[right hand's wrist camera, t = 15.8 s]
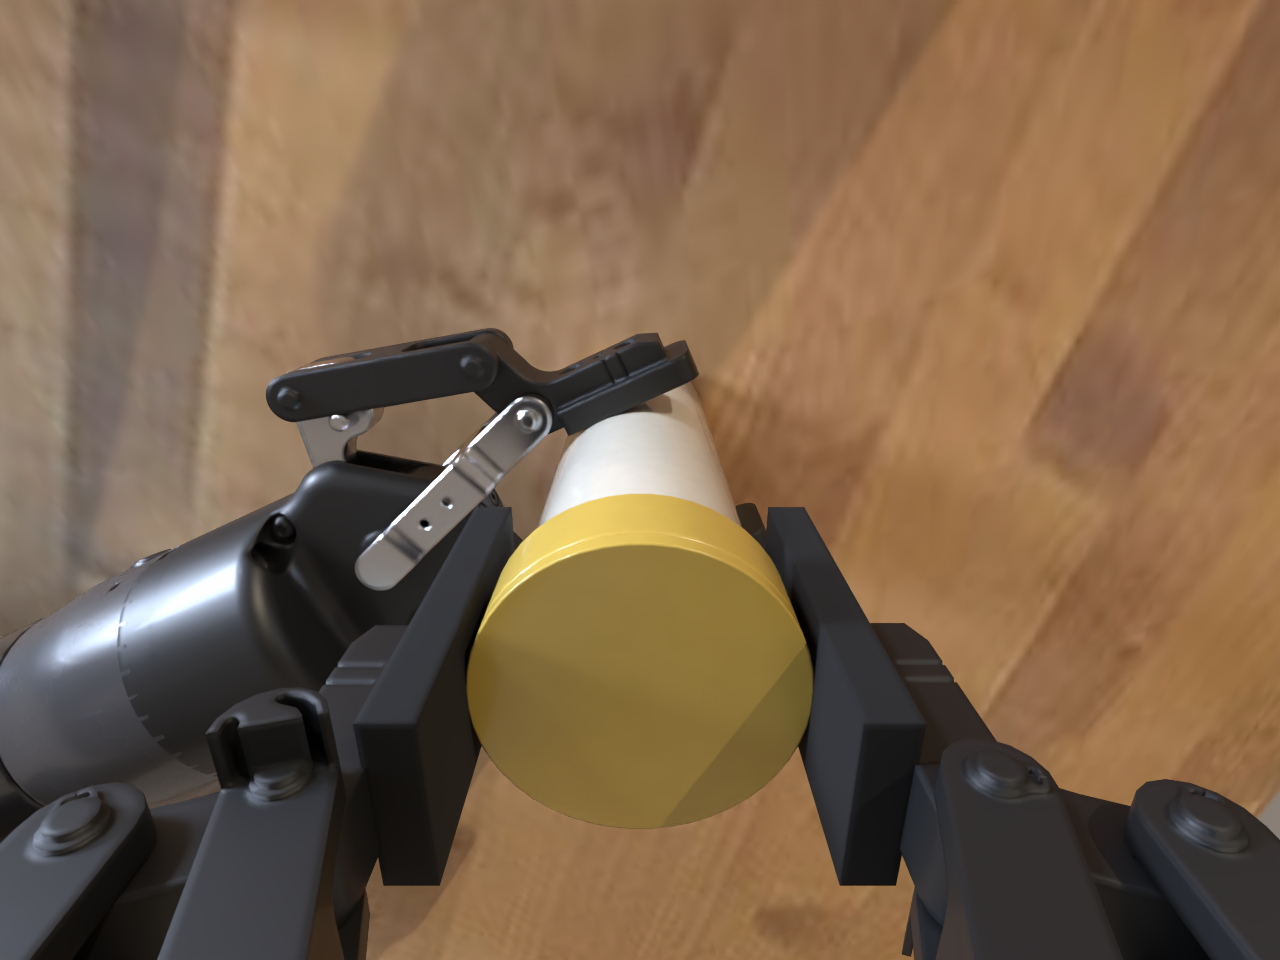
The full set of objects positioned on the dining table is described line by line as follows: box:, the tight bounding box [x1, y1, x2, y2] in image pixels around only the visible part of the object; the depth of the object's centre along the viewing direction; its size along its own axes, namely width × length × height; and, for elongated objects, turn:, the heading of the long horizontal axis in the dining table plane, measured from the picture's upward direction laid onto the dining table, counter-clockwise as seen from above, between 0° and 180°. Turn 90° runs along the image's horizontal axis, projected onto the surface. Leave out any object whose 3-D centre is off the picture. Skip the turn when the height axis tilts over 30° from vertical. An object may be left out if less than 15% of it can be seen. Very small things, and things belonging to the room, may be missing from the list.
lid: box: [466, 494, 814, 829], centre depth 11 cm, size 5×5×2 cm
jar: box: [537, 381, 743, 528], centre depth 18 cm, size 5×5×15 cm
